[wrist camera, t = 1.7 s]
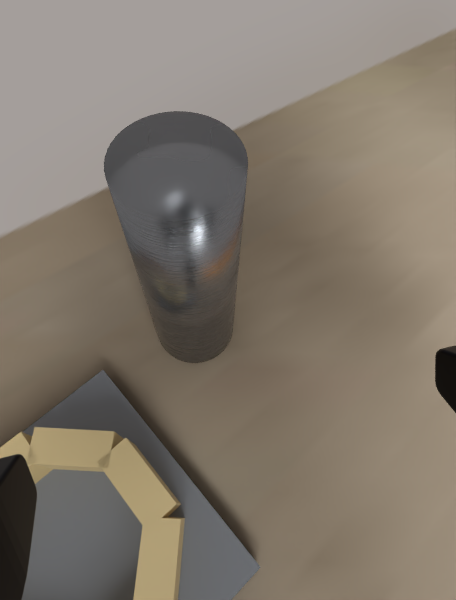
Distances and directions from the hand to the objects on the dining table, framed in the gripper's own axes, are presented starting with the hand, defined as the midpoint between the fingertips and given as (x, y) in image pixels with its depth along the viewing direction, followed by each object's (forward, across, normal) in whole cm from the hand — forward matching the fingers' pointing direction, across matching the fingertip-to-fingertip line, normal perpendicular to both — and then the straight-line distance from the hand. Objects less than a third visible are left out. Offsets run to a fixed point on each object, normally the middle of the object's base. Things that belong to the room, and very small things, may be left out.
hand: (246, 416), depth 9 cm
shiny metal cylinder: (+15, 0, +4) cm, 16 cm away
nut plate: (+8, +8, +11) cm, 16 cm away
